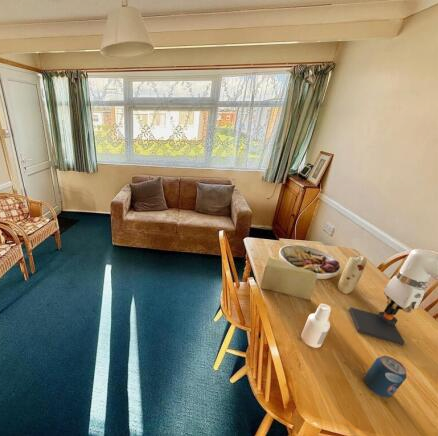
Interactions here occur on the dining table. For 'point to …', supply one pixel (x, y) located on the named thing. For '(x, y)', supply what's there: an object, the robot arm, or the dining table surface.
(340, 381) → the dining table surface
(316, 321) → the white bottle
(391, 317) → the tare button
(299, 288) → the cheese
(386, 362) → the soda can
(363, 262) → the food model
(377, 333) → the scale
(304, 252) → the bowl
